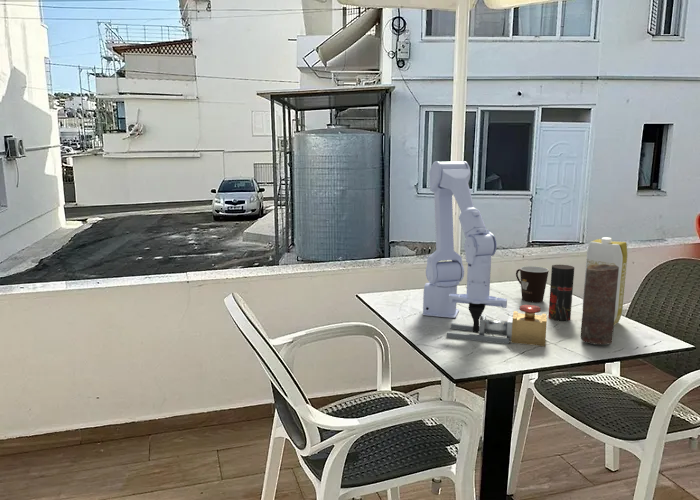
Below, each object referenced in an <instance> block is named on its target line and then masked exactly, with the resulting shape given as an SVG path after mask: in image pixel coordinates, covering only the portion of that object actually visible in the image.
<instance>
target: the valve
mask: <svg viewBox="0 0 700 500" xmlns="http://www.w3.org/2000/svg"><path fill="white" fill-rule="evenodd" d="M519 310H520V311H521V313H520V312H519V311H516V310H514V311H513V315H512V317H513V320H512V338H511V342H510V343H511V344H522V345H530V346H540V347H546V340H547V339H546V336H547V322H548V319H547V317H548V316H547V313H541V314H538V313H540V312H542V311H541V310H542V309H541V307H540V306H538V305H533V304H522V305H520V306H519ZM522 312H524V313H522ZM536 313H537V314H536Z"/></svg>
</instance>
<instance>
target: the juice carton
mask: <svg viewBox="0 0 700 500" xmlns="http://www.w3.org/2000/svg"><path fill="white" fill-rule="evenodd" d="M590 264H598V265H601V264H607V265H616V266H618V267H619V272H618V282H617V293H616V304H615V315H614V326H615V325H616V324H618V323H619V322H620V320H621V317H622V314H623V309H624V298H625V288H626V287H625V286H626V277H627V267H628V243H627V241H613V240H612V237H609V236H608V237H607V236H604V237H601V239H600V238H596V239H594V240H591V241H590V242H589V244H588V248H587V252H586V262H585V275H584V287H583V288H584V289H583V294H584V293H585V282H586V271H587V267H588V266H589V265H590ZM583 304H584V295H583V299H582V305H583Z"/></svg>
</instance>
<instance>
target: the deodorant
mask: <svg viewBox="0 0 700 500" xmlns="http://www.w3.org/2000/svg"><path fill="white" fill-rule="evenodd" d="M550 273H551V274H550V275H551V276H550V288H549V289H550V290H549V302H548V304H549V305H548V316H547V317H548V319H549V320H551V321H555V322H570V321H571V316H572V306H573V305H572V304H573V303H572V302H573V291H574V279H575V266H573V265H569V264H552V265H551V271H550Z"/></svg>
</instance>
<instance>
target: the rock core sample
mask: <svg viewBox="0 0 700 500" xmlns="http://www.w3.org/2000/svg"><path fill="white" fill-rule="evenodd" d="M585 271H586V270H585ZM618 272H619V267H618V266H616V265H607V264H601V265H598V264H590V265H589V266H588V267H587V271H586V282H585V281H584V284H585V293H584V292H583V296H584V304H583V303H582V313H581V315H582V316H581V325H580V326H581V327H580V339H581V341H583V342H584V343H587V344H592V345H599V346H600V345H612V343H613V337H614V336H613V335H614V327H615V325H614V315H615V304H616V293H617V282H618Z"/></svg>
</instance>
